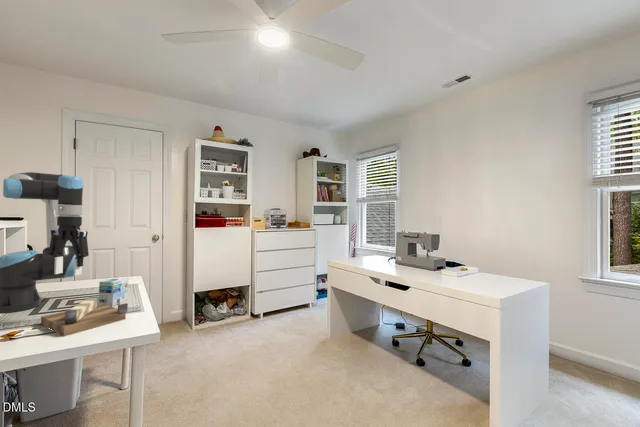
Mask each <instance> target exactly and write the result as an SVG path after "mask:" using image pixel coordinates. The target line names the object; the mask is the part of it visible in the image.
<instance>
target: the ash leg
mask: <svg viewBox="0 0 640 427" xmlns="http://www.w3.org/2000/svg"><path fill="white" fill-rule="evenodd" d="M98 305H99V296H89V297H87V298H86V299H84V300H82V301H81V302H79V303H77V304H76V305H74V306H73V307H72V308H70V309H69V310H65V311H66V312H65V311H64V312H65V324H71V323H75V322H77V321H78V320H80V319H81V318H82V317H84V316H85V315H86V314H88V313H89V312H90V311H92V310H93V309H94V308H96V307H97V306H98Z"/></svg>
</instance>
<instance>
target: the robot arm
mask: <svg viewBox="0 0 640 427" xmlns="http://www.w3.org/2000/svg"><path fill="white" fill-rule="evenodd" d="M2 186H3V187H2V188H3V189H2V194H3V195H2V196H3V197H4V198H5V199H14V200H20V199H22V200H24V199H25V200H40V201H42V202H43V203H45V219H46V220H45V225H46V226H45V227H46V247H44V248H43V250H42V253H38V251H37V250H34V249H33V250H32V249H31V250H21V251H14V252H10V253H6V254H3V255H1V256H0V313H2V314H5V313H14V312H22V311H27V310H31V309H34V308H37V307H39V306H41V303H42V302H41V301H42V300H41V296H40V294H39V292H38V289H37V287H36V286H37V283H36V282H38V281H45V280H46V281H47V280H56V279H65V278H72V277H75V276H81V275H82V273H83V272H82V271H83V270H82V269H83V268H82V267H83V266H84V258H86V257H89V255H90V254H89V245H88V234H89V232H88V231H86V230H85V231H84V230H81V226H82V225H83V224H82V222H83V217H82V215H83V190H84V179H83V178H82V177H81V176H80V177H79V176H72V175H66V174H57V173H55V174H54V173H42V172H31V171H28V172H25V171H24V172H18V173H14V174H12V175H10V176H8V177H7V178H4V179H3V184H2Z"/></svg>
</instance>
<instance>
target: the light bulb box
mask: <svg viewBox="0 0 640 427" xmlns="http://www.w3.org/2000/svg"><path fill="white" fill-rule="evenodd" d="M98 286H99V287H98V297H99V304H101V303H102V304H105V305H108V306H111V307H114V306H116V305H120V304H121V303H123V302H126V301H128V299H129V298H128V294H129V277H126V276H125V277H124V276H114V277H111V278H110V277H109V278H107V279H104V280H101V281H99V285H98Z"/></svg>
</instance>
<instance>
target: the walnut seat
mask: <svg viewBox="0 0 640 427" xmlns="http://www.w3.org/2000/svg"><path fill="white" fill-rule="evenodd" d="M66 311H67V310H65V311H61V312H56V313H52V314H46V315H43V316H40V326H42V327H43V328H47V329H48V328H50V329H52V330H53V331H52V330H51V331H52V332H54V331H55V333H57V334H59V335H61V336H62V337H66V336H70V335H73V334H74V335H75V334H77V333H81V332H84V331H85V332H86V331H88V330H93V329H95V328H100V327H101V326H106V325H110V324H113V323H117V322H120V321H123V320H126V314H127V313H126V312H128V302H127V303H125V302H124V303H122V304H121V303H120V304H117V307H114V306H108V305H105V304H102V303H101V304H99V305H98V306H97V307H96V308H94V309H93V310H92V311H90V312H89V313H88V314H86V315H85V316H84V317H82V318H81V319H80V320H78V321H77V322H75V323H71V324H65V312H66ZM50 329H49V330H50Z"/></svg>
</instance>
